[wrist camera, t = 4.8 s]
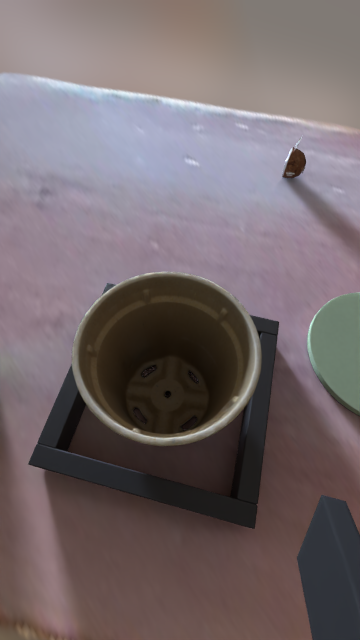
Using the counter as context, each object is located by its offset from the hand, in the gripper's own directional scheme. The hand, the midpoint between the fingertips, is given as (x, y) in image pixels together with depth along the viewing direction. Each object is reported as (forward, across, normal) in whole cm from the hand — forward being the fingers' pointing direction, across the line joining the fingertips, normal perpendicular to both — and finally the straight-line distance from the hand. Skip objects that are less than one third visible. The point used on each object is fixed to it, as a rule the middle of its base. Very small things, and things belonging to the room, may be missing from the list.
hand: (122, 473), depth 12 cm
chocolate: (+31, +6, +15) cm, 35 cm away
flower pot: (+12, 0, -4) cm, 13 cm away
